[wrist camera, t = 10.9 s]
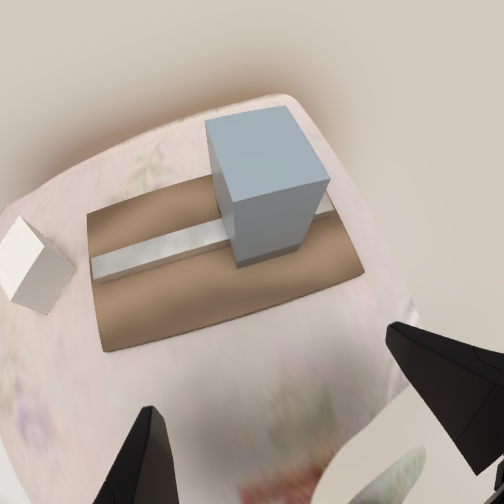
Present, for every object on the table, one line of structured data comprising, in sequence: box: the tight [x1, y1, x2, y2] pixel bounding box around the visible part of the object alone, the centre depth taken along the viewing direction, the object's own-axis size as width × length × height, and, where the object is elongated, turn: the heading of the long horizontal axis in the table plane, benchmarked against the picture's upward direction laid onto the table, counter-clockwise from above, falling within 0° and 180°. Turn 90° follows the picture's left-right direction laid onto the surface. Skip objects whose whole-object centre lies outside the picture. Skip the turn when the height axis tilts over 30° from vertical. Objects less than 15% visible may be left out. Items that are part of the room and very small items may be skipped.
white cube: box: [0, 216, 77, 315], centre depth 21 cm, size 6×6×6 cm
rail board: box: [87, 174, 365, 352], centre depth 24 cm, size 14×24×2 cm, turn 108°
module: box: [205, 106, 331, 269], centre depth 20 cm, size 7×6×10 cm
